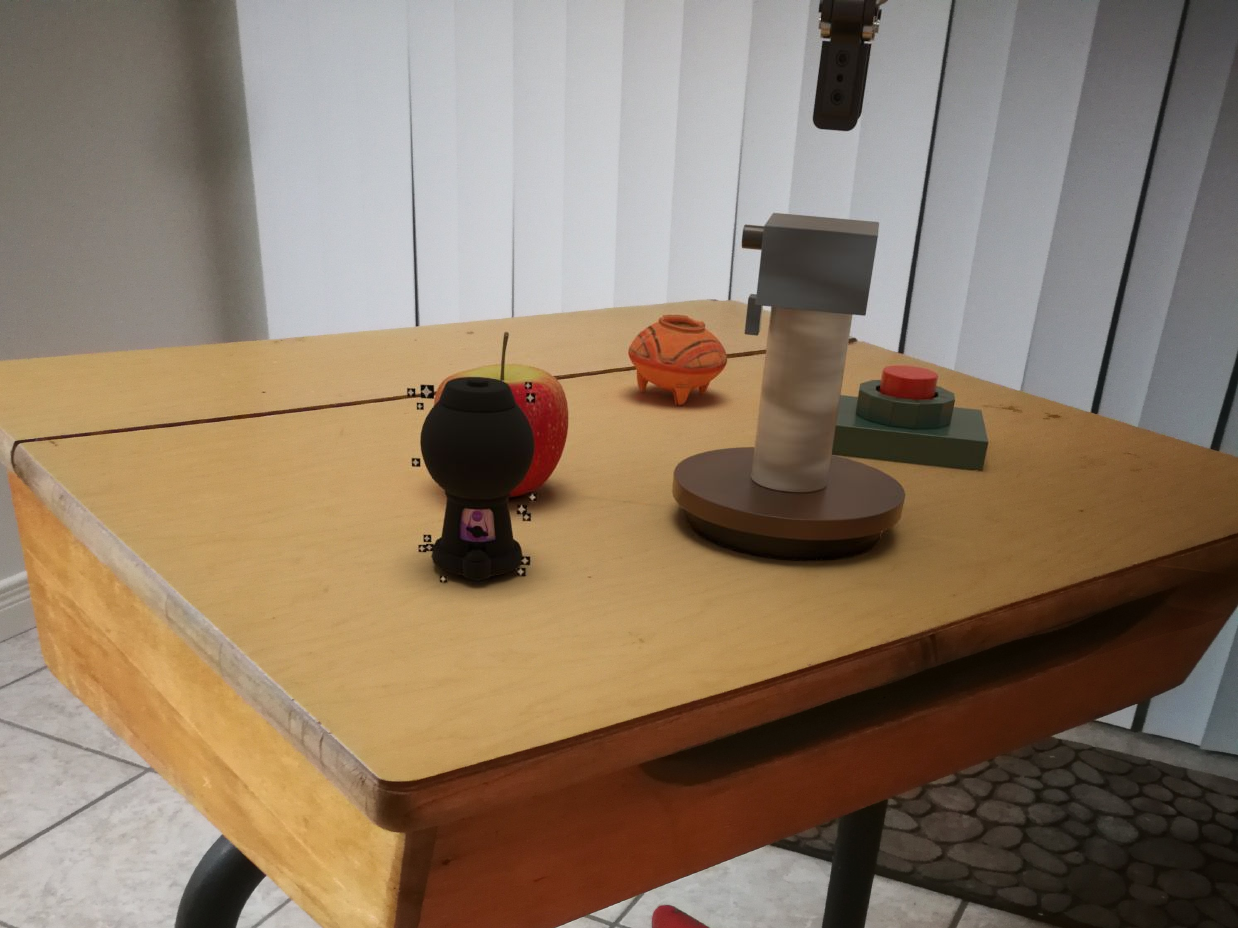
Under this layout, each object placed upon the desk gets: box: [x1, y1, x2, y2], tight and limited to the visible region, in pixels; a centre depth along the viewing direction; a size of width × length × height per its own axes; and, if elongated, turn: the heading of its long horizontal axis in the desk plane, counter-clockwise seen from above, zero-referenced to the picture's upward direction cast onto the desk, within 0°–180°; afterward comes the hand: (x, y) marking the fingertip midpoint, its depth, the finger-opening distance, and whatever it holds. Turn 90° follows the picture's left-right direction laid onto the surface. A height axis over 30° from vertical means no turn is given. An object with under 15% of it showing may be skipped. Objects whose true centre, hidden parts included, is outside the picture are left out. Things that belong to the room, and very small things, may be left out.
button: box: [879, 365, 939, 400], centre depth 93 cm, size 4×4×2 cm
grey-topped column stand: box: [671, 212, 906, 540], centre depth 73 cm, size 14×14×15 cm
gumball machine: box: [406, 377, 538, 584], centre depth 67 cm, size 7×6×10 cm
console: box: [832, 379, 989, 472], centre depth 94 cm, size 12×9×4 cm
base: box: [685, 511, 883, 562], centre depth 78 cm, size 12×12×1 cm
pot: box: [627, 314, 728, 406], centre depth 102 cm, size 8×8×7 cm
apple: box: [433, 331, 569, 498], centre depth 78 cm, size 8×8×10 cm
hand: (837, 124), depth 67 cm, fingers open, 8 cm apart
